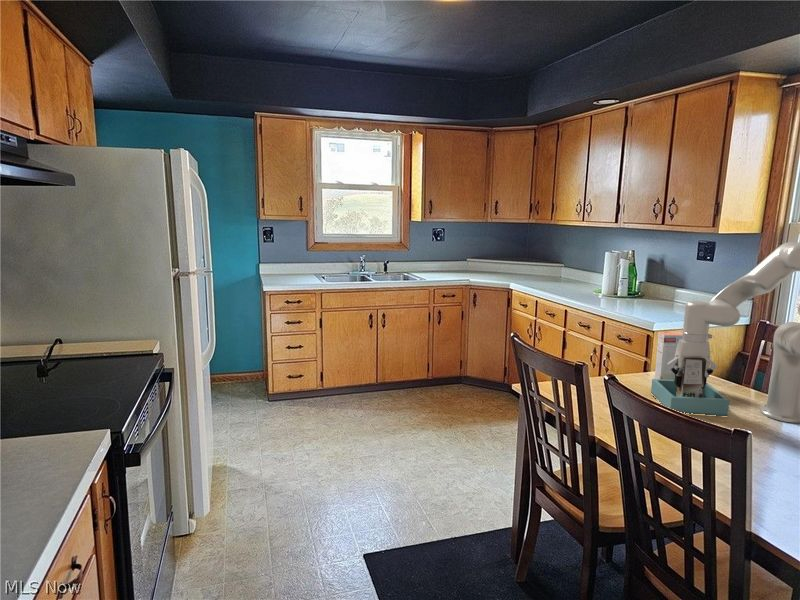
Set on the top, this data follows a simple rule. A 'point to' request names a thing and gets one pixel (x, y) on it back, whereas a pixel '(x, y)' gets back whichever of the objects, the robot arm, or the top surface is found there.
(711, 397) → the tote
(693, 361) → the coffee box
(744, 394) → the top surface
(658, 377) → the cracker box
